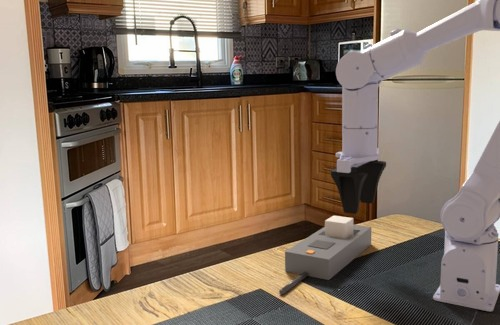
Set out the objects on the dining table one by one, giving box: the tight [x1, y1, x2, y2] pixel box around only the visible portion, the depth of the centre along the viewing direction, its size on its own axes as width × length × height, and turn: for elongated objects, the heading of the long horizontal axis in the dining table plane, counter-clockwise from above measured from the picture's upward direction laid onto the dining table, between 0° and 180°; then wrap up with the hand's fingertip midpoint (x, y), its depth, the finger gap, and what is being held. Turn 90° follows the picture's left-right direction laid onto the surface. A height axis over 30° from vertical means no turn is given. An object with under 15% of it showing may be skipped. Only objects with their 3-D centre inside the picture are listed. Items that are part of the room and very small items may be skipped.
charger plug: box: [324, 215, 354, 239], centre depth 96 cm, size 4×4×5 cm
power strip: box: [278, 223, 372, 295], centre depth 89 cm, size 29×8×4 cm, turn 147°
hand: (359, 207), depth 86 cm, fingers open, 7 cm apart
